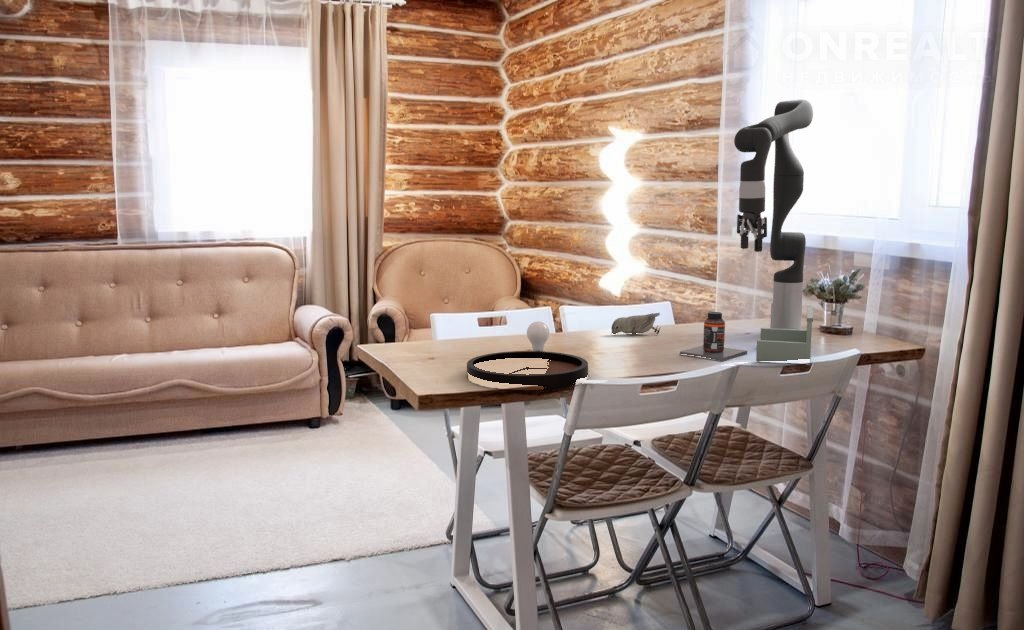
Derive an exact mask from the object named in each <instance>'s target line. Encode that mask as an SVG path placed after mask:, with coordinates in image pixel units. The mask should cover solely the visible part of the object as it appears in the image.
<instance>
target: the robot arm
mask: <svg viewBox="0 0 1024 630" xmlns="http://www.w3.org/2000/svg"><path fill="white" fill-rule="evenodd" d="M773 114H774V115H773V116H770V117H768V118H766V119H763V120H762V121H760V122H758V123H755V124H752V125H749V126H744V127H742V128H740V129H739V130H738V131H737V132H736V134H735V136H734V139H733V140H734V141H733V142H734V147H735V148H736V150H738V151H739V152H740V153H741V152H742V153H755V154H754V157H753V158H752V159H748V160H745V161H743V162H741V164H740V173H739V175H740V177H739V178H740V180H739V182H740V183H739V189H738V190H739V191H738V211H739V212H740V213H739V214H737V216H736V234H737V235H738V234H739V237H740V249H741V250H745V249H748V248H749V234H750V233H751V234H753V237H754V242H753V243H754V244H753V245H754V247H753V248H754V252H755V253H759V252H762V251H763V240H764V238H767V237H768V217H767V216H761V215H762V214H761V213H764V212H765V211H766V183H765V181H766V180H765V178H766V177H765V175H766V164H767V159H768V157H769V153H770V149H771V145H772V143H773V142H774V170H773V188H772V189H773V190H772V191H773V195H772V197H773V199H772V200H773V205H772V207H773V208H772V209H773V210H772V222H771V233H770V244H769V245H770V246H769V252H770V253H769V255H770V258H771V259H772V260H773V261H777V262H778V261H781V262H782V261H784V262H786V261H787V262H792V261H793V263H792V265H790V266H789V267H786V268H784V269H781V270H778V271H775V272H774V274H773V284H772V285H773V286H772V303H771V306H770V324H769V326H770V327H769V328H773V329H795V330H802V315H803V314H802V312H803V310H802V309H803V295H804V294H803V293H804V291H803V289H804V288H803V287H804V268H805V267H804V265H805V264H804V263H805V256H806V243H807V242H806V235H805V234H804V233H803V232H796V231H795V232H789V231H787V232H786V231H785V232H783V231H782V227H783V225H784V223H785V221H786V219H787V217H788V215H789V214H790V212H791V211H792V209H793V207H794V206H795V205H796V203H797V202H799V201H798V200H799V199H800V198H801V196H802V194H803V192H804V181H805V179H804V177H805V176H804V168H803V166H802V163H801V161H800V160H799V158H798V157H797V156H796V154H795V152H794V150H793V148H792V147H791V143H790V138H789V137H790V136H789V134H790V133H791V132H792V133H793V132H794V131H797V130H802V129H806V128H808V127H809V126H810V125H811V123H812V122H813V118H814V110H813V105H812V103H811V102H810V101H809V100H807V99H792V100H785V101H784V100H783V101H779V102H778V103H777V104H776V105H775V108H774V113H773Z"/></svg>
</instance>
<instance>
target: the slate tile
mask: <svg viewBox="0 0 1024 630" xmlns="http://www.w3.org/2000/svg"><path fill="white" fill-rule="evenodd" d="M680 354H687V355H694V356H701V357H706V358H711V359H716V360H715V361H717V360H720V361H719V362H725V361H729V360H731V359H735V358H738V357H739V358H740V357H742V356H745V355H748V350H746V349H740V348H739V349H738V348H731V347H725V346H724V350H723V351H722V352H707V351H704V350H703V344H702V345H699V346H695V347H691V348H688V349H685V350H680V351H679V355H680Z"/></svg>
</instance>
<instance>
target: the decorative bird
mask: <svg viewBox="0 0 1024 630" xmlns="http://www.w3.org/2000/svg"><path fill="white" fill-rule="evenodd" d="M660 315H661V313H660V312H656V313H654V312H653V313H652V312H651V313H647V314H641V315H640V314H639V315H632V316H625V317H624V316H622V317H618V318H616V319H615V320H614V321H612V322H613V323H612V325H611V334H612V333H613V334H615V335H616V333H617V334H618V333H619V334H620V333H624V334H625V333H632V334H635V335H637V334H636V333H641V334H645V333H647V332H649V331H650V330H651V329H653V330H654V331H653V332H654V333H656V335H658V334H659V333H660V330H661V327H659V326H658V325H657V326H656V327H654V323H655V321H656V318H657V317H659V316H660ZM658 327H659V328H658Z"/></svg>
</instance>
